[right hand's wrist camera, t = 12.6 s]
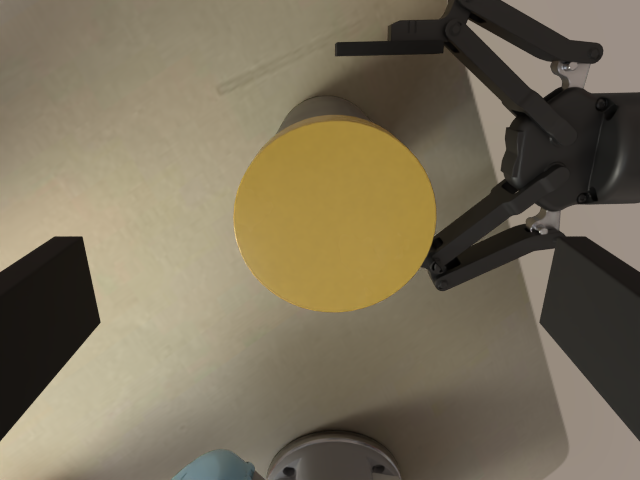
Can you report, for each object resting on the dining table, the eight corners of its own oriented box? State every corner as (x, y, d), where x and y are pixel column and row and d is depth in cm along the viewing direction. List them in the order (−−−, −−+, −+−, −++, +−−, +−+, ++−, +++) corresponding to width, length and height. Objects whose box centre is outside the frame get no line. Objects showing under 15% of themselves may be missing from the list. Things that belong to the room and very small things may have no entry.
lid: (278, 310, 23) (274, 333, 21) (212, 150, 20) (200, 160, 18) (442, 262, 22) (455, 282, 20) (399, 86, 19) (409, 89, 17)
